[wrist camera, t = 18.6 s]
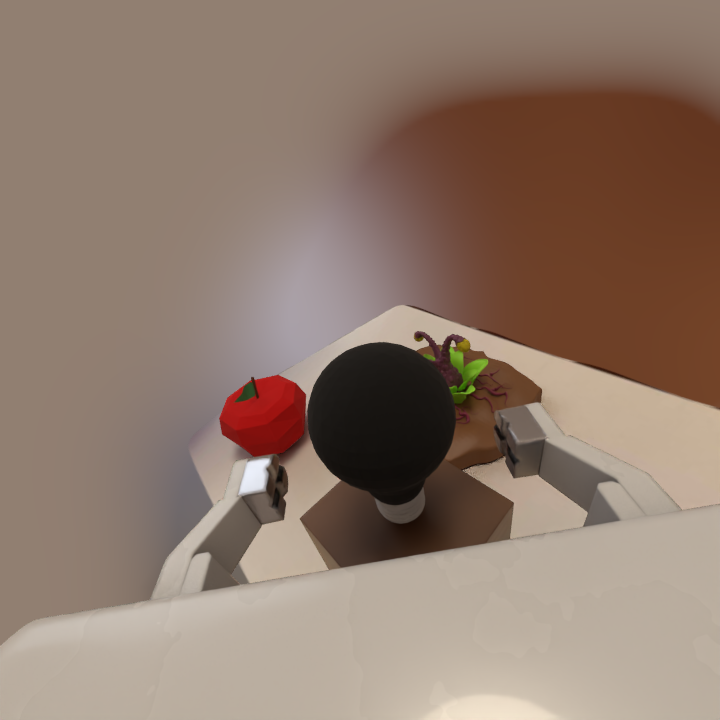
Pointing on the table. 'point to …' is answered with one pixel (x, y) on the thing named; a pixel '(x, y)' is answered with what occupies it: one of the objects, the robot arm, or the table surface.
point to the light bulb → (383, 424)
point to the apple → (265, 415)
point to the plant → (476, 396)
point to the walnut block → (420, 536)
